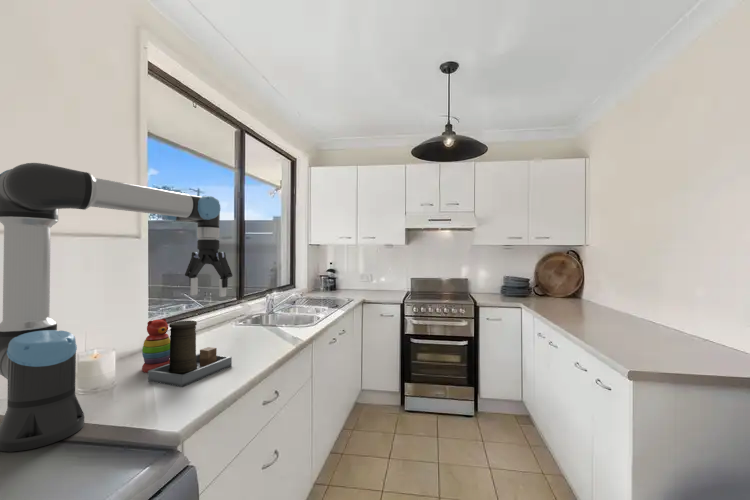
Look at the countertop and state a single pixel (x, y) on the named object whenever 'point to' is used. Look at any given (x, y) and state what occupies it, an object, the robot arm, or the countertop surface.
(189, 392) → the countertop surface
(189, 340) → the container
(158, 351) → the stacking bear
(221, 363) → the tray
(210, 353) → the walnut block
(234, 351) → the countertop surface
